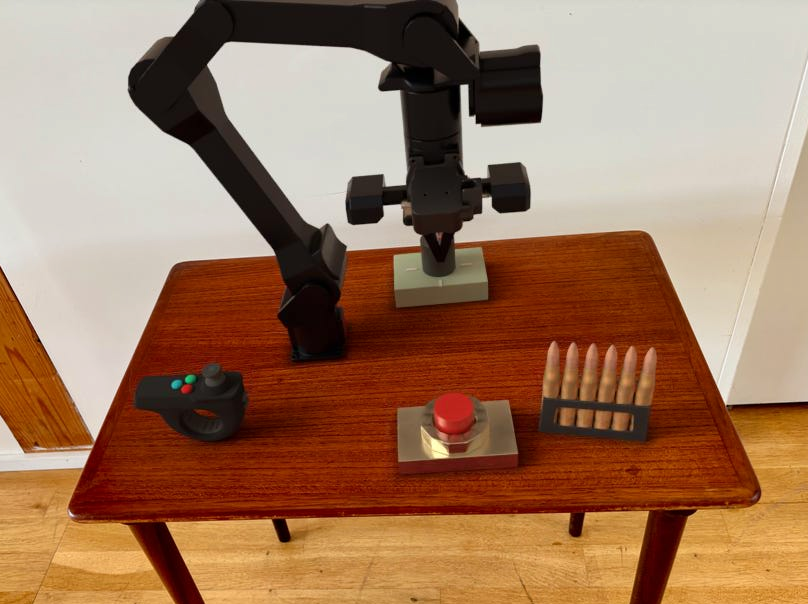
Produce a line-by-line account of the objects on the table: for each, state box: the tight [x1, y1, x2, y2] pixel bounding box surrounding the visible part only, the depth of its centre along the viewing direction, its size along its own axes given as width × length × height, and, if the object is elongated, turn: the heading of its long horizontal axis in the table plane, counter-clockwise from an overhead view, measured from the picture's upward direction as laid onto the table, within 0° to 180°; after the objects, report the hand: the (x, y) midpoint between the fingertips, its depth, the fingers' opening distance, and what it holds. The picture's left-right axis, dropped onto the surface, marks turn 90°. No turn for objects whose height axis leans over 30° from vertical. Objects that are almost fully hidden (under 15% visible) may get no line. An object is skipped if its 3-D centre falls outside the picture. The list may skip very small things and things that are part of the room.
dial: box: [419, 233, 456, 277], centre depth 92 cm, size 4×4×5 cm
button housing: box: [396, 394, 519, 476], centre depth 74 cm, size 12×8×4 cm, turn 89°
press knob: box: [434, 392, 474, 435], centre depth 72 cm, size 4×4×2 cm
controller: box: [133, 362, 250, 442], centre depth 78 cm, size 4×12×10 cm, turn 85°
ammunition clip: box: [538, 340, 658, 442], centre depth 70 cm, size 11×2×12 cm, turn 76°
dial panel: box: [393, 246, 489, 309], centre depth 95 cm, size 12×9×3 cm
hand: (440, 260), depth 80 cm, fingers closed
